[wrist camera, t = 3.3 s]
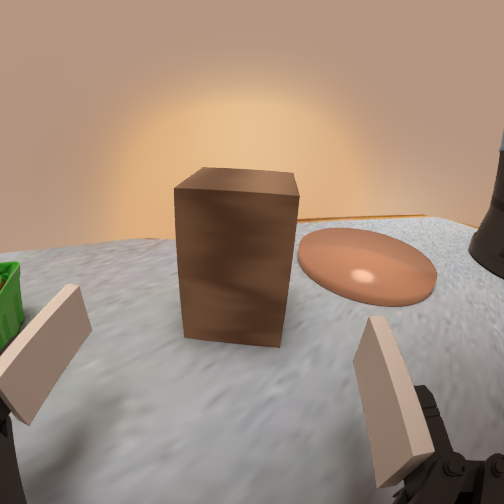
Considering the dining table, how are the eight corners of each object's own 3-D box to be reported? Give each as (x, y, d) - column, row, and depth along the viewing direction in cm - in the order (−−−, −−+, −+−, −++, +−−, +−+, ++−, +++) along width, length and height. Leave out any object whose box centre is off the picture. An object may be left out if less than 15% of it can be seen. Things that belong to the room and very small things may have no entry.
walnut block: (280, 294, 27) (293, 173, 22) (279, 347, 21) (299, 195, 16) (204, 287, 27) (203, 167, 22) (184, 337, 21) (174, 188, 16)
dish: (404, 241, 40) (406, 234, 40) (457, 307, 25) (461, 297, 24) (294, 231, 41) (295, 222, 41) (302, 301, 26) (304, 290, 25)
